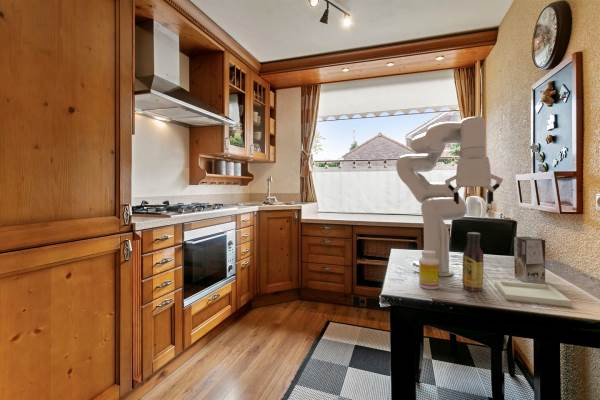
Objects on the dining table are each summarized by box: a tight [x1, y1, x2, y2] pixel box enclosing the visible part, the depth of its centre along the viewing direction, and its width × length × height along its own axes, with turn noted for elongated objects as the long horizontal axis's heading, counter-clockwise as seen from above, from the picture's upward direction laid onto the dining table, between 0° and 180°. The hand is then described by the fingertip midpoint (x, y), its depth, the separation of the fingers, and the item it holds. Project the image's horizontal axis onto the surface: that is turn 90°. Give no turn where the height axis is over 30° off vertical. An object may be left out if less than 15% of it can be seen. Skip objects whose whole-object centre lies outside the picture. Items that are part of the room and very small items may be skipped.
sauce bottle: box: [461, 231, 485, 292], centre depth 104 cm, size 7×6×20 cm
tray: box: [494, 279, 572, 308], centre depth 98 cm, size 16×16×2 cm
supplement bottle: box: [418, 249, 440, 290], centre depth 108 cm, size 7×7×13 cm
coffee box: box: [513, 236, 546, 284], centre depth 113 cm, size 9×6×16 cm
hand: (472, 203), depth 103 cm, fingers open, 9 cm apart
